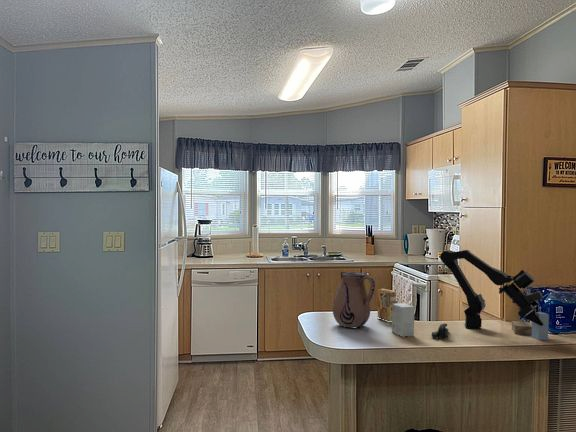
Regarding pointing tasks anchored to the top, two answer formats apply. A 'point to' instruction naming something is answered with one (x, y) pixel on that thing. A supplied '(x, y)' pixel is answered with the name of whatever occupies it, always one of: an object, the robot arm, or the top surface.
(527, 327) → the base block
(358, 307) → the ceramic pitcher
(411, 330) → the small box
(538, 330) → the pillar
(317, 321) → the top surface
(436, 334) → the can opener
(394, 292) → the candy box
